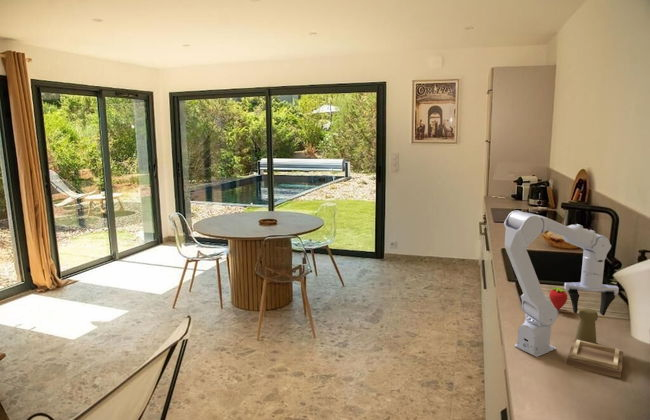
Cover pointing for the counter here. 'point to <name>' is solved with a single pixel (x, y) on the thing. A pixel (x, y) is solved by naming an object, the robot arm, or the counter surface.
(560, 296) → the strawberry
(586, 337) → the cork
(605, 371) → the wooden serving tray
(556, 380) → the counter surface
